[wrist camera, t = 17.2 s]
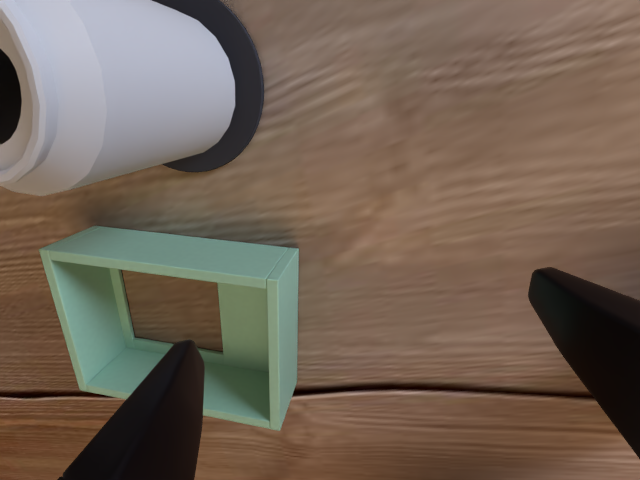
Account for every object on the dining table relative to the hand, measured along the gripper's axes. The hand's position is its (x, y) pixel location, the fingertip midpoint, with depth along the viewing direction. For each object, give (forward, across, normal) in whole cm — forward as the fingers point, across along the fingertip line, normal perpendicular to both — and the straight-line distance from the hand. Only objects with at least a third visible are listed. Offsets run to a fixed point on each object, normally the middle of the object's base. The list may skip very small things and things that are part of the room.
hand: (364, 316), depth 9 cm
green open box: (+14, +11, +10) cm, 20 cm away
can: (+16, +7, -4) cm, 18 cm away
